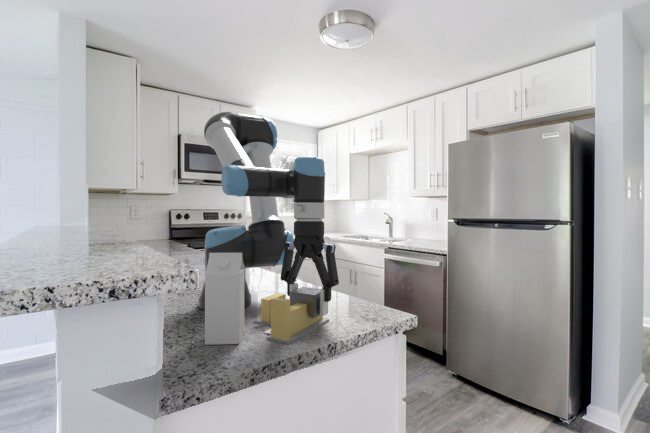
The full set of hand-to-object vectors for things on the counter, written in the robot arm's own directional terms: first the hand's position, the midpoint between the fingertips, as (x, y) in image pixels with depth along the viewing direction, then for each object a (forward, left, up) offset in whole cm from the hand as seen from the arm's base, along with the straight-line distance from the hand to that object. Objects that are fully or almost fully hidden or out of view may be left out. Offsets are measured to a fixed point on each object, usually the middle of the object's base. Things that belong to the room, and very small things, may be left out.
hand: (308, 311), depth 85 cm
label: (-4, -7, -3) cm, 9 cm away
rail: (0, -4, -3) cm, 5 cm away
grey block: (0, 0, 0) cm, 0 cm away
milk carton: (-11, -17, -3) cm, 21 cm away
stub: (-10, -1, -3) cm, 11 cm away
